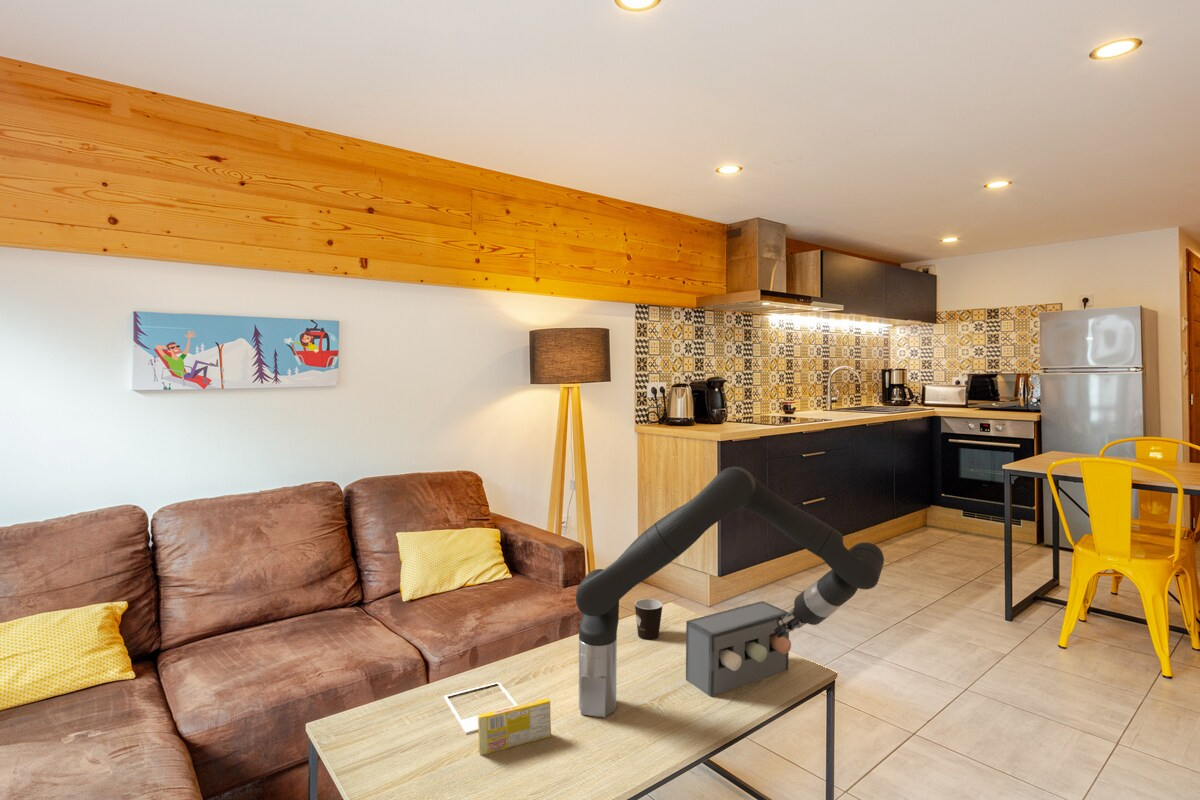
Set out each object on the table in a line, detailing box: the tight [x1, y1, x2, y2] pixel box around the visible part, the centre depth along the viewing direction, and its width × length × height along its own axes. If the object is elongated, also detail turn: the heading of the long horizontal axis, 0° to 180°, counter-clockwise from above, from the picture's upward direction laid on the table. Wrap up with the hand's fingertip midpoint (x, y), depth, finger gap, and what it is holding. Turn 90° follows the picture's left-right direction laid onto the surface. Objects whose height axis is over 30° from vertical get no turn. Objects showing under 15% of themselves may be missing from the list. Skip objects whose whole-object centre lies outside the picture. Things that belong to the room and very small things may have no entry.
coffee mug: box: [634, 598, 664, 641], centre depth 195 cm, size 12×9×10 cm
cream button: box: [719, 649, 742, 671], centre depth 160 cm, size 7×4×4 cm, turn 31°
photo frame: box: [443, 681, 518, 735], centre depth 153 cm, size 15×1×18 cm
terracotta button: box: [769, 634, 792, 654], centre depth 169 cm, size 7×4×4 cm, turn 31°
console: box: [685, 600, 790, 697], centre depth 169 cm, size 10×28×16 cm, turn 121°
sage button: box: [745, 642, 767, 662], centre depth 165 cm, size 7×4×4 cm, turn 31°
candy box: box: [477, 697, 552, 756], centre depth 138 cm, size 16×2×8 cm, turn 115°
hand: (777, 633), depth 156 cm, fingers closed
